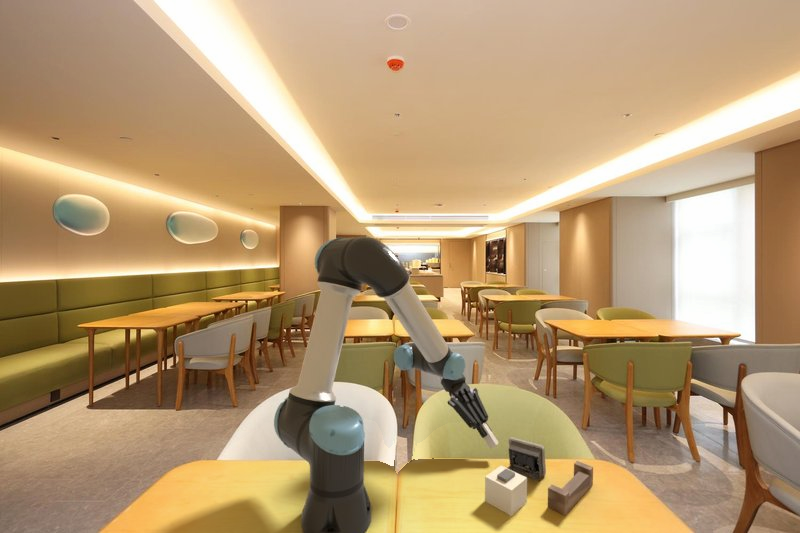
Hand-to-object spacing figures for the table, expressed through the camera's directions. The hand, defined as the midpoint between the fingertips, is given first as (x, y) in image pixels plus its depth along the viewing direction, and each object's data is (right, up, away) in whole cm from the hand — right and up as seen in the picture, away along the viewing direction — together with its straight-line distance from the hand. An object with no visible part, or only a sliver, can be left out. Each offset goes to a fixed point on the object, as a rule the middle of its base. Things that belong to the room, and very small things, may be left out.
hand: (494, 446), depth 106 cm
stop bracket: (+15, -4, -16) cm, 23 cm away
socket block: (-2, -4, -18) cm, 19 cm away
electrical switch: (+7, -4, -7) cm, 11 cm away
